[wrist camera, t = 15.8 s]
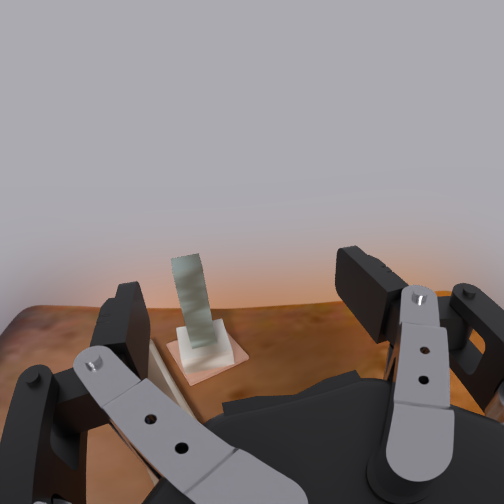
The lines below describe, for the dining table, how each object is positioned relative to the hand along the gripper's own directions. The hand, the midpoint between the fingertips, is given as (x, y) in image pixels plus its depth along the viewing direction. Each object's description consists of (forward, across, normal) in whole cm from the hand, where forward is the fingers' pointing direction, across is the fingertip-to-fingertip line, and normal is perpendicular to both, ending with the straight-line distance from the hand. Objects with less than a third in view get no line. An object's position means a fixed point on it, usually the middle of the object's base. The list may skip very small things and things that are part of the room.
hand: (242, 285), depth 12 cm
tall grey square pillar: (+19, +3, +21) cm, 28 cm away
